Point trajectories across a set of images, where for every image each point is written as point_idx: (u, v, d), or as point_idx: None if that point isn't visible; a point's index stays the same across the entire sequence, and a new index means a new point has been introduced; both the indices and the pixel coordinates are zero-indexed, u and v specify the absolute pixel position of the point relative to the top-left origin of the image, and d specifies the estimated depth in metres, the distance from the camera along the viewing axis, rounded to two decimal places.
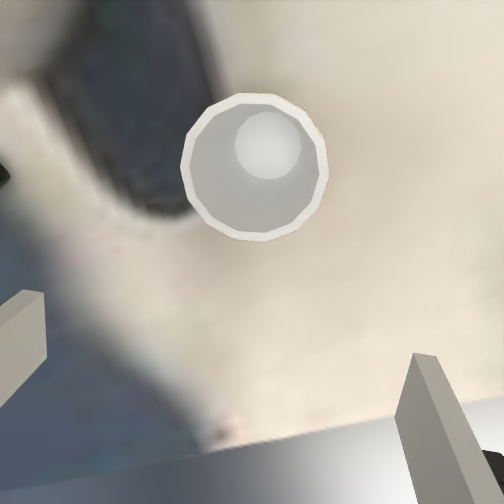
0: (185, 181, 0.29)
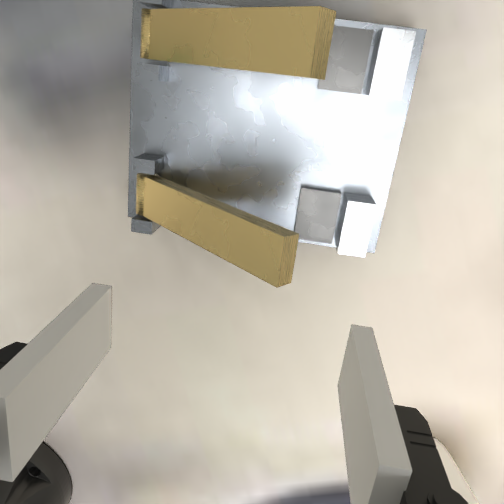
0: None
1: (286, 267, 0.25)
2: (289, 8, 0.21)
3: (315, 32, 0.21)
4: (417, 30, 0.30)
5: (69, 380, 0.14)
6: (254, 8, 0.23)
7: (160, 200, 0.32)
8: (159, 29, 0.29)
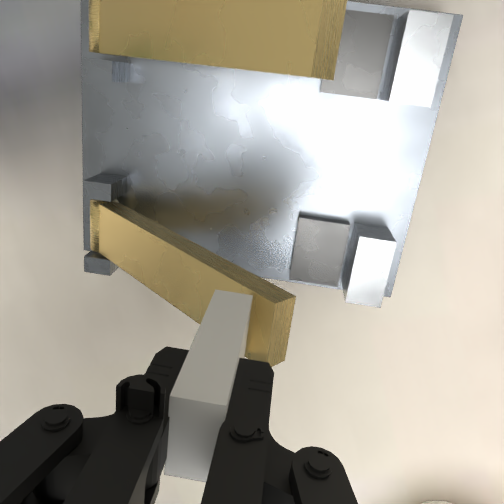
0: None
1: (278, 342, 0.18)
2: None
3: (320, 8, 0.14)
4: None
5: None
6: None
7: (117, 235, 0.25)
8: (110, 13, 0.22)
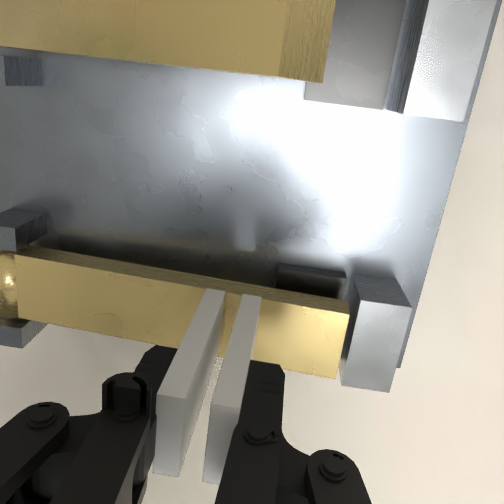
0: None
1: None
2: None
3: None
4: None
5: (204, 381, 0.15)
6: None
7: (64, 289, 0.19)
8: None
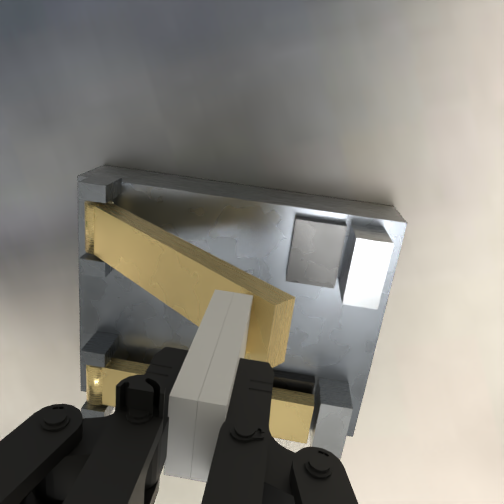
0: None
1: None
2: (240, 288, 0.18)
3: (270, 327, 0.17)
4: (396, 223, 0.27)
5: None
6: (202, 266, 0.20)
7: None
8: (103, 231, 0.25)
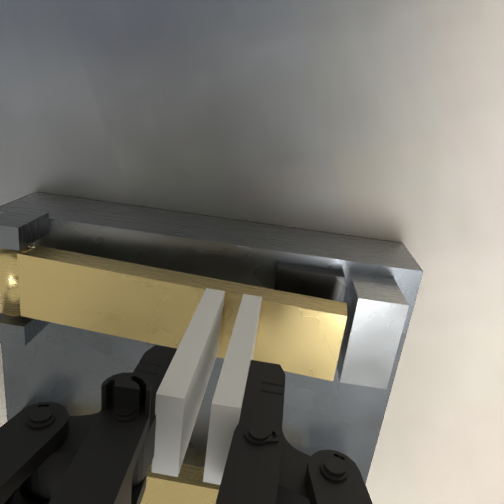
0: None
1: None
2: (299, 309, 0.18)
3: (339, 338, 0.18)
4: (409, 271, 0.20)
5: (203, 381, 0.15)
6: (239, 297, 0.18)
7: None
8: (42, 283, 0.19)
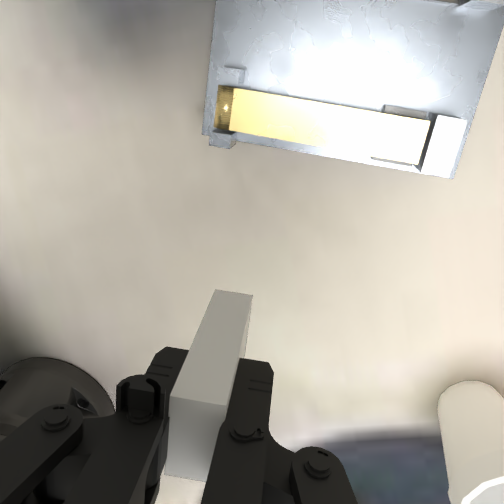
0: None
1: None
2: None
3: None
4: None
5: None
6: None
7: (261, 110, 0.33)
8: None
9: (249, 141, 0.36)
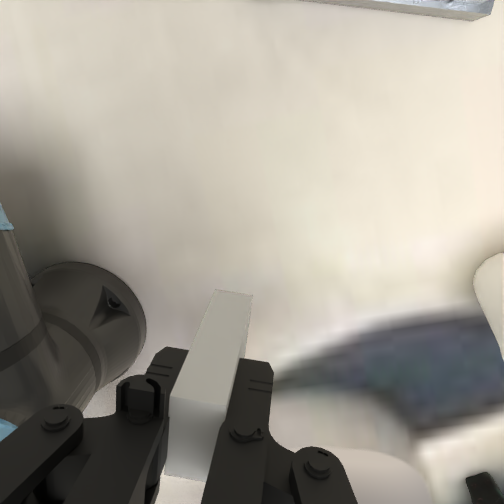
0: None
1: None
2: None
3: None
4: None
5: None
6: None
7: None
8: None
9: None
